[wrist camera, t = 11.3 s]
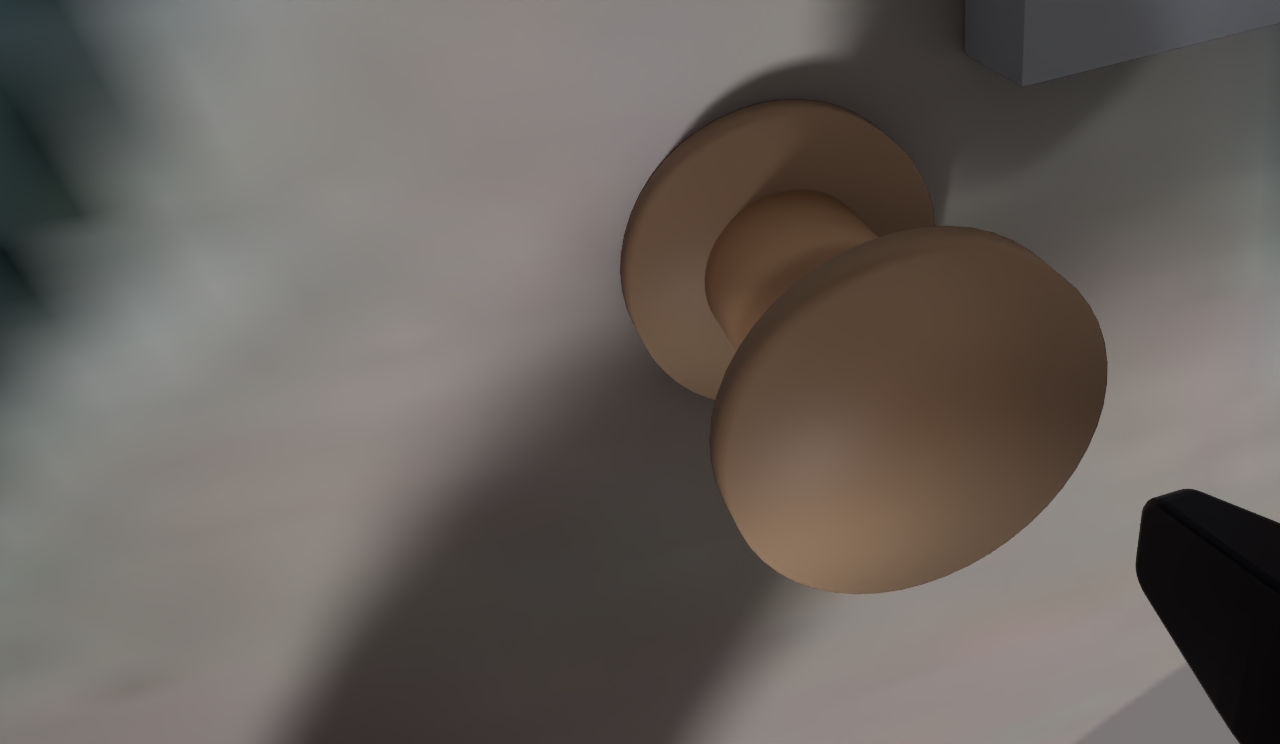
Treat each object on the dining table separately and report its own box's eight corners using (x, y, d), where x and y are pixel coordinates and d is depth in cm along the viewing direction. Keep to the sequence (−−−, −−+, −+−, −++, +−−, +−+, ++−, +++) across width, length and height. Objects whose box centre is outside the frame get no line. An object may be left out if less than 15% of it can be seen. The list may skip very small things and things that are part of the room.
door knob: (918, 342, 24) (1092, 532, 19) (645, 417, 23) (747, 637, 18) (914, 65, 21) (1124, 203, 16) (595, 142, 20) (702, 315, 15)
